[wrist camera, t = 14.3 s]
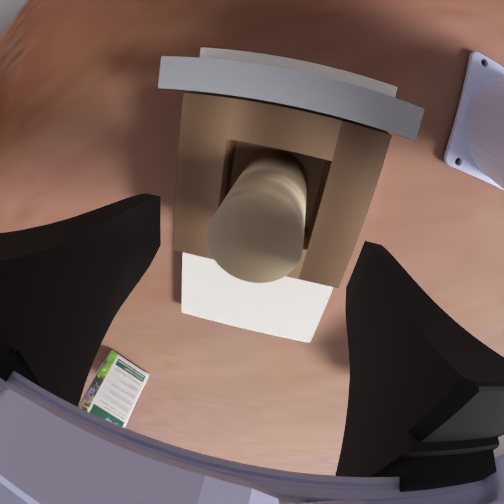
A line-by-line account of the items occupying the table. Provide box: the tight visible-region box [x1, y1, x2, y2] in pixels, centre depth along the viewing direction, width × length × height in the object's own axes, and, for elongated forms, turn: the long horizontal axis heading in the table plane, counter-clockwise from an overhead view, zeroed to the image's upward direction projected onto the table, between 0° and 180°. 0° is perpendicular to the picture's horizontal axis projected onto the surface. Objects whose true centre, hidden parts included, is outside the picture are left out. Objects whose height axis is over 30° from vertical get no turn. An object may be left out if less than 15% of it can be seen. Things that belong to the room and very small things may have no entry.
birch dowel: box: [207, 150, 307, 283], centre depth 14 cm, size 4×4×7 cm
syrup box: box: [78, 350, 149, 428], centre depth 30 cm, size 6×6×14 cm
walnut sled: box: [174, 91, 391, 288], centre depth 17 cm, size 10×9×4 cm
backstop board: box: [158, 47, 425, 343], centre depth 18 cm, size 11×20×6 cm, turn 171°
